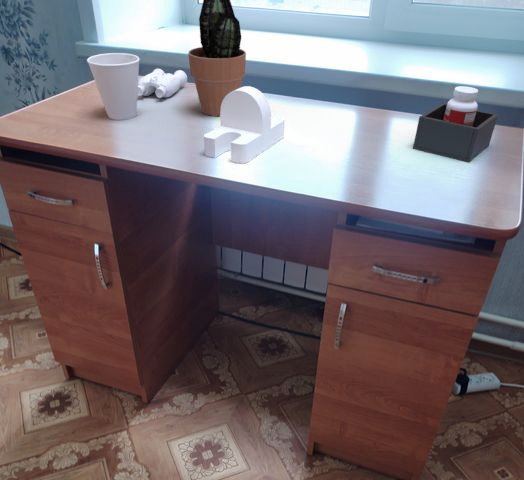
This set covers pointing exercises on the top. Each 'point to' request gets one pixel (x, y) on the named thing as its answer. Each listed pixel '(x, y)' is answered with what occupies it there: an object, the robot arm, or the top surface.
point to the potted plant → (217, 55)
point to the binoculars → (161, 83)
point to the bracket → (244, 126)
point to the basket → (454, 134)
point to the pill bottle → (462, 106)
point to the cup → (117, 83)
